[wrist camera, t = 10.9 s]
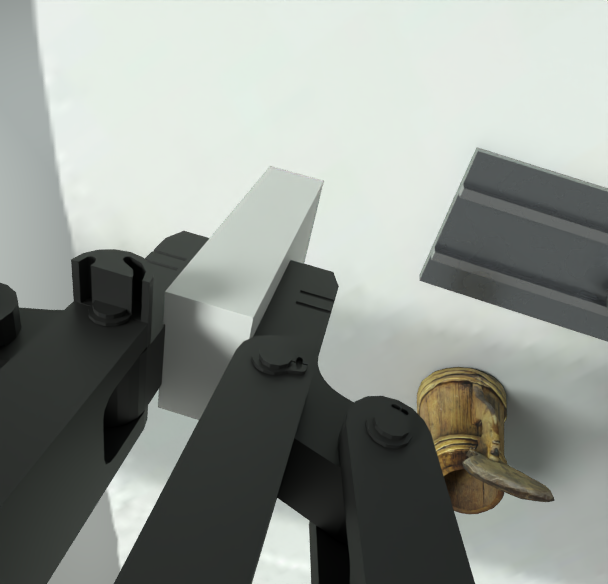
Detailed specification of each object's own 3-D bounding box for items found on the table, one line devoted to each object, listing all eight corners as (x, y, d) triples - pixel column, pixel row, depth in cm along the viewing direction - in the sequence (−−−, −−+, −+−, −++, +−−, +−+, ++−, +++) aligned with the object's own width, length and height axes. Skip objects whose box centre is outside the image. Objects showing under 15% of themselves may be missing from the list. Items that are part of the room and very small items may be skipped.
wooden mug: (544, 347, 47) (602, 519, 32) (483, 441, 54) (507, 617, 39) (451, 318, 48) (465, 475, 32) (403, 416, 55) (396, 581, 40)
